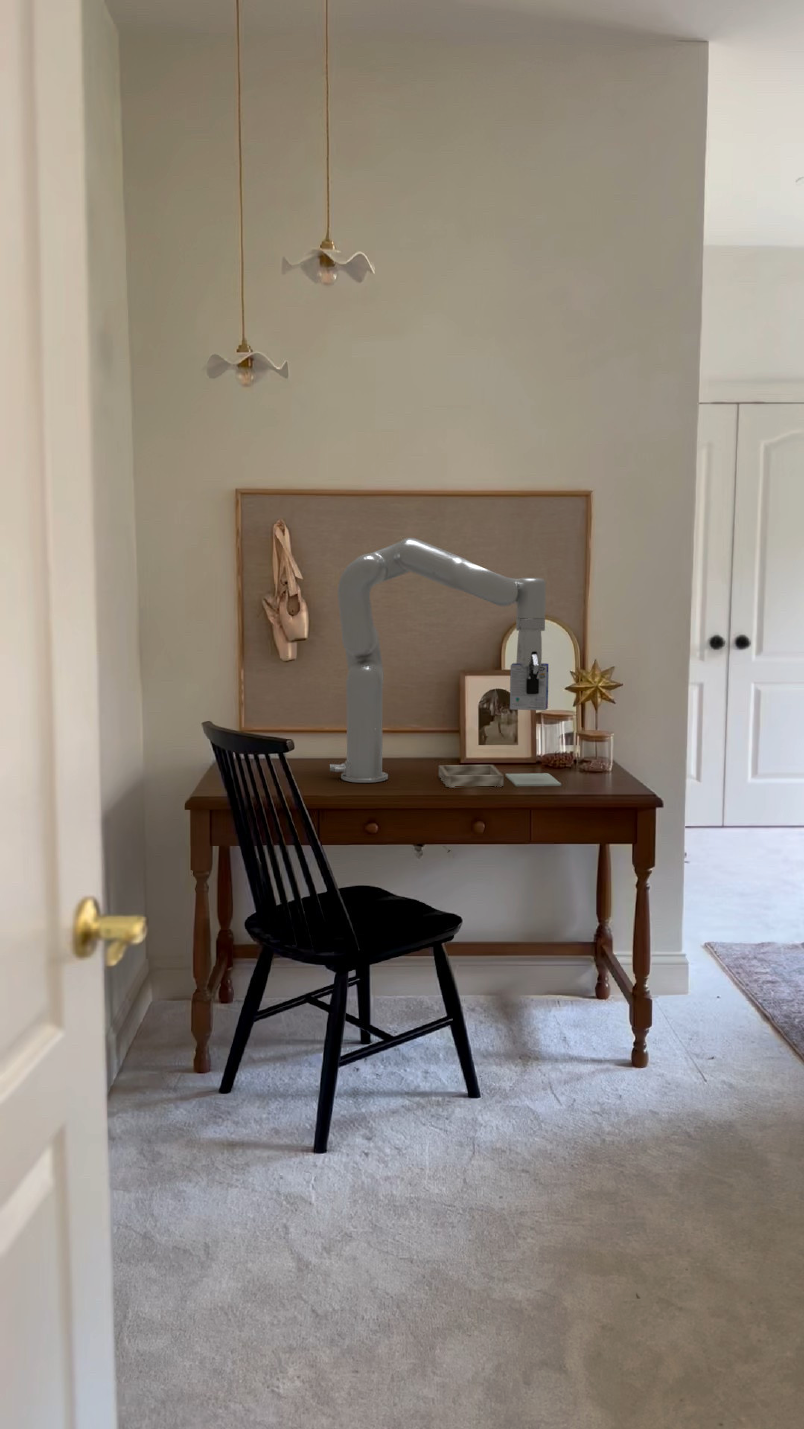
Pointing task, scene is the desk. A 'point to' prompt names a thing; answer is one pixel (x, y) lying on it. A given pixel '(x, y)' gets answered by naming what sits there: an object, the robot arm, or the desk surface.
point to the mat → (533, 779)
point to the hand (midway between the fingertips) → (529, 691)
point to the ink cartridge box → (518, 689)
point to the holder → (470, 775)
